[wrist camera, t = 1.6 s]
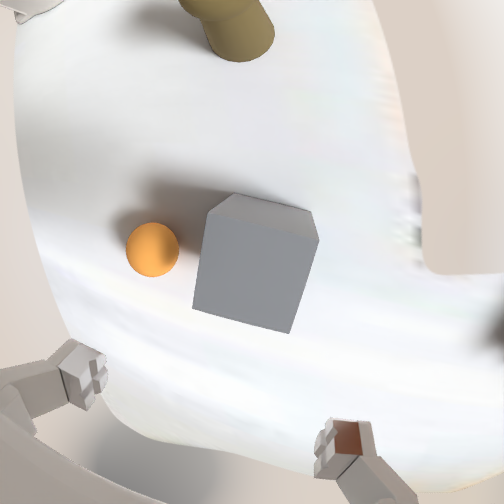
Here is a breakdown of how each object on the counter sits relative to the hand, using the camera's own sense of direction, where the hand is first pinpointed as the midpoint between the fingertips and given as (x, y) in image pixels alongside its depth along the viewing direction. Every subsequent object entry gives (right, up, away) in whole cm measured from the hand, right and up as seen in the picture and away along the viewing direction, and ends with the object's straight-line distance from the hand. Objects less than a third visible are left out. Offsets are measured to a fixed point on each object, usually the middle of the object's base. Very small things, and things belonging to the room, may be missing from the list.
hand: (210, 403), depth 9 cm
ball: (-8, +5, +17) cm, 20 cm away
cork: (0, +25, +13) cm, 28 cm away
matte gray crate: (+2, +6, +18) cm, 20 cm away
